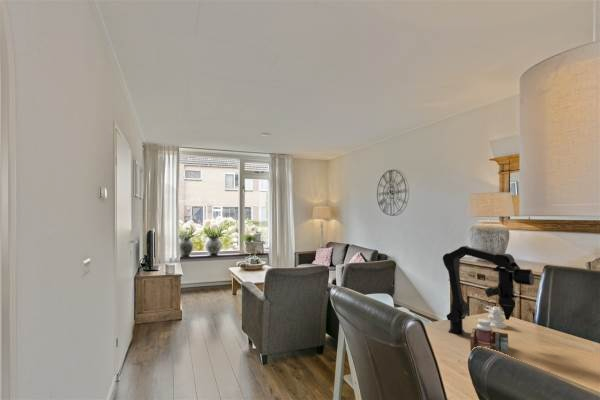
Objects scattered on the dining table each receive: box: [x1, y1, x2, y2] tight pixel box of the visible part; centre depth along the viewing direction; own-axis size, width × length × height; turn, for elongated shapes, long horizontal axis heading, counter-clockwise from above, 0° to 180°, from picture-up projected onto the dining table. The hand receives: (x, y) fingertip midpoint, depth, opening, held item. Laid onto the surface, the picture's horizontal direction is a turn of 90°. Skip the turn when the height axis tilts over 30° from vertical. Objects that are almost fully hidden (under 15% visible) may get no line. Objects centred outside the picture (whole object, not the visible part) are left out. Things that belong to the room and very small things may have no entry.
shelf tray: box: [469, 327, 509, 355], centre depth 146 cm, size 13×14×6 cm
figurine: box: [484, 305, 507, 329], centre depth 176 cm, size 12×9×10 cm
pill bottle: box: [476, 318, 494, 348], centre depth 145 cm, size 6×6×11 cm
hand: (507, 316), depth 148 cm, fingers open, 9 cm apart
